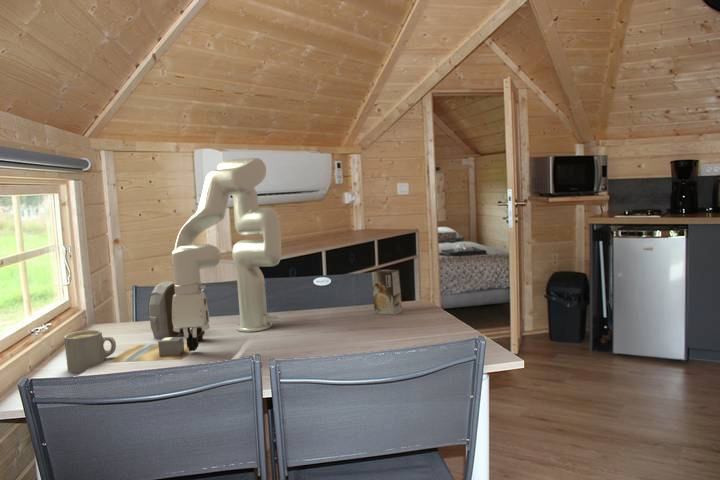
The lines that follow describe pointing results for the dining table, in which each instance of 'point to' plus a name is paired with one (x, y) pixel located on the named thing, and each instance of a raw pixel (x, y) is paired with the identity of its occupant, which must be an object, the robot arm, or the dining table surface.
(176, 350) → the grey block
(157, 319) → the small grey backpack
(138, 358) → the yellow striped flat sheet
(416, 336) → the dining table surface
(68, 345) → the coffee mug
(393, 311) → the coffee box
